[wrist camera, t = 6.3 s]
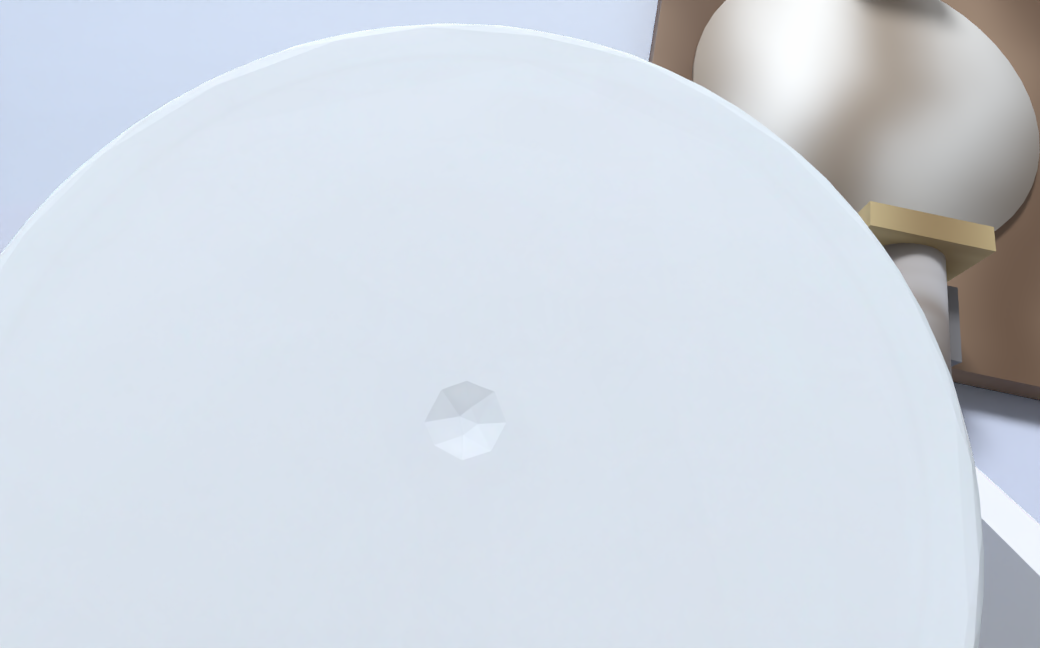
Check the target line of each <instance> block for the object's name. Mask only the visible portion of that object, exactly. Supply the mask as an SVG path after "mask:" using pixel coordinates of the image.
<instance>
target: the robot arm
mask: <svg viewBox="0 0 1040 648" xmlns="http://www.w3.org/2000/svg"><path fill="white" fill-rule="evenodd" d="M975 469H976V476H977V483H978V489H979V496H980V508H981V520H982V533H983V545H984V598H983V608H982V618H981V629H980V639H979V648H1040V524H1039V523H1038V522H1037V521H1036V520H1035V519H1033V518H1032V517H1031V516H1030V515H1029V514H1028V513H1027V512H1026V511H1025V510H1023V509H1022V508H1021V507H1020V506H1019V505H1018V504H1017V503H1016V502H1015V501H1013V500H1012V499H1011V498H1010V497H1009V496H1008V495H1007V494H1006V493H1005V492H1003V491H1002V490H1001V489H1000V488H999V487H998V486H997V485H996V484H995V483H993V482H992V481H991V480H990V479H989V478H988V477H987V476H986V475H985V474H983V473H982V472H981V471H980V470H979V469H978V468H977V467H976V466H975Z"/></svg>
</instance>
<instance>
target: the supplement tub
mask: <svg viewBox="0 0 1040 648" xmlns="http://www.w3.org/2000/svg"><path fill="white" fill-rule="evenodd" d="M983 598H984V545H983V533H982V520H981V508H980V496H979V489H978V483H977V476H976V469H975V462H974V458H973V453H972V449H971V445H970V441H969V437H968V433H967V428H966V425H965V421H964V418H963V414H962V411H961V407H960V404H959V400H958V397H957V393H956V390H955V386H954V383H953V379H952V377H951V375H950V372H949V370H948V367H947V365H946V363H945V360H944V358H943V355H942V353H941V351H940V348H939V346H938V343H937V341H936V339H935V337H934V334H933V332H932V330H931V328H930V326H929V323H928V321H927V319H926V317H925V314H924V312H923V310H922V309H921V307H920V305H919V304H918V302H917V300H916V298H915V297H914V295H913V293H912V291H911V290H910V288H909V286H908V284H907V283H906V281H905V279H904V277H903V276H902V274H901V272H900V271H899V269H898V268H897V266H896V265H895V263H894V262H893V260H892V259H891V258H890V256H889V255H888V253H887V252H886V250H885V249H884V247H883V246H882V244H881V243H880V242H879V241H878V239H877V238H876V237H875V235H874V234H873V233H872V231H871V230H870V229H869V227H868V226H867V225H866V223H865V222H864V221H863V220H862V218H861V217H860V216H859V214H858V213H857V212H856V211H855V210H854V209H853V208H852V207H851V205H850V204H849V203H848V202H847V201H846V200H845V199H844V198H843V196H842V195H841V194H840V193H839V192H838V191H837V190H836V189H835V188H834V186H833V185H832V184H831V183H830V182H829V181H828V180H827V179H826V178H825V177H824V176H823V175H822V174H821V173H820V172H819V171H818V170H817V169H815V168H814V167H813V166H812V165H811V164H810V163H809V162H808V161H807V160H806V159H805V158H804V157H802V156H801V155H800V154H799V153H798V152H797V151H795V150H794V149H793V148H792V147H790V146H789V145H788V144H787V143H785V142H784V141H783V140H782V139H780V138H779V137H778V136H777V135H775V134H774V133H773V132H771V131H770V130H769V129H768V128H766V127H765V126H764V125H762V124H761V123H760V122H758V121H757V120H755V119H754V118H753V117H751V116H750V115H748V114H747V113H746V112H744V111H743V110H741V109H740V108H738V107H737V106H735V105H733V104H732V103H730V102H728V101H727V100H725V99H723V98H721V97H720V96H718V95H716V94H715V93H713V92H711V91H710V90H708V89H706V88H705V87H703V86H701V85H698V84H696V83H694V82H692V81H690V80H688V79H686V78H684V77H682V76H680V75H678V74H676V73H674V72H672V71H669V70H667V69H665V68H663V67H660V66H658V65H656V64H653V63H651V62H649V61H646V60H644V59H641V58H639V57H637V56H634V55H632V54H629V53H626V52H622V51H619V50H616V49H613V48H609V47H606V46H603V45H599V44H596V43H592V42H589V41H585V40H581V39H576V38H571V37H567V36H562V35H557V34H552V33H547V32H542V31H537V30H530V29H523V28H516V27H509V26H501V25H477V24H452V23H439V24H425V25H412V26H398V27H385V28H378V29H371V30H365V31H358V32H352V33H348V34H343V35H338V36H333V37H329V38H325V39H321V40H317V41H313V42H309V43H305V44H301V45H297V46H294V47H291V48H288V49H285V50H283V51H280V52H277V53H274V54H272V55H269V56H266V57H263V58H261V59H258V60H255V61H253V62H250V63H248V64H245V65H243V66H240V67H238V68H235V69H233V70H231V71H229V72H226V73H224V74H222V75H220V76H217V77H215V78H213V79H211V80H209V81H207V82H205V83H203V84H201V85H199V86H198V87H196V88H194V89H192V90H190V91H188V92H187V93H185V94H183V95H181V96H179V97H177V98H176V99H174V100H172V101H170V102H168V103H166V104H165V105H163V106H162V107H160V108H159V109H157V110H155V111H154V112H152V113H151V114H149V115H148V116H146V117H145V118H143V119H142V120H140V121H138V122H137V123H135V124H134V125H132V126H131V127H129V128H128V129H127V130H126V131H124V132H123V133H122V134H120V135H119V136H118V137H117V138H115V139H114V140H113V141H111V142H110V143H109V144H108V145H106V146H105V147H104V148H102V149H101V150H100V151H99V152H97V153H96V154H95V155H94V156H92V157H91V158H90V159H89V160H88V161H86V162H85V163H84V164H83V165H82V166H80V167H79V168H78V169H77V170H76V171H75V172H74V173H73V174H72V175H70V176H69V177H68V178H67V179H66V180H65V181H64V182H63V183H62V184H61V185H60V186H59V187H58V188H57V189H56V190H55V191H54V192H53V193H52V194H51V195H50V196H49V197H48V198H47V199H46V200H45V201H44V203H43V204H42V205H41V206H40V207H39V208H38V209H37V210H36V211H35V212H34V213H33V215H32V216H31V217H30V218H29V219H28V220H27V221H26V222H25V224H24V225H23V226H22V227H21V229H20V230H19V231H18V232H17V234H16V235H15V236H14V238H13V239H12V240H11V241H10V243H9V244H8V245H7V247H6V248H5V249H4V250H3V252H2V253H1V254H0V648H979V639H980V629H981V618H982V608H983Z"/></svg>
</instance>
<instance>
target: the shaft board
mask: <svg viewBox="0 0 1040 648" xmlns="http://www.w3.org/2000/svg"><path fill="white" fill-rule="evenodd" d="M649 62H651V63H653V64H656V65H658V66H660V67H663V68H665V69H667V70H669V71H672V72H674V73H676V74H678V75H680V76H682V77H684V78H686V79H688V80H690V81H692V82H694V83H696V84H698V85H701V86H703V87H705V88H706V89H708V90H710V91H711V92H713V93H715V94H716V95H718V96H720V97H721V98H723V99H725V100H727V101H728V102H730V103H732V104H733V105H735V106H737V107H738V108H740V109H741V110H743V111H744V112H746V113H747V114H748V115H750V116H751V117H753V118H754V119H755V120H757V121H758V122H760V123H761V124H762V125H764V126H765V127H766V128H768V129H769V130H770V131H771V132H773V133H774V134H775V135H777V136H778V137H779V138H780V139H782V140H783V141H784V142H785V143H787V144H788V145H789V146H790V147H792V148H793V149H794V150H795V151H797V152H798V153H799V154H800V155H801V156H802V157H804V158H805V159H806V160H807V161H808V162H809V163H810V164H811V165H812V166H813V167H814V168H815V169H817V170H818V171H819V172H820V173H821V174H822V175H823V176H824V177H825V178H826V179H827V180H828V181H829V182H830V183H831V184H832V185H833V186H834V188H835V189H836V190H837V191H838V192H839V193H840V194H841V195H842V196H843V198H844V199H845V200H846V201H847V202H848V203H849V204H850V205H851V207H852V208H853V209H854V210H855V211H856V212H857V213H858V214H859V216H860V217H861V218H862V220H863V221H864V222H865V223H866V225H867V226H868V227H869V229H870V230H871V231H872V233H873V234H874V235H875V237H876V238H877V239H878V241H879V242H880V243H881V244H882V246H883V247H884V249H885V250H886V252H887V253H888V255H889V256H890V258H891V259H892V260H893V262H894V263H895V265H896V266H897V268H898V269H899V271H900V272H901V274H902V276H903V277H904V279H905V281H906V283H907V284H908V286H909V288H910V290H911V291H912V293H913V295H914V297H915V298H916V300H917V302H918V304H919V305H920V307H921V309H922V310H923V312H924V314H925V317H926V319H927V321H928V323H929V326H930V328H931V330H932V332H933V334H934V337H935V339H936V341H937V343H938V346H939V348H940V351H941V353H942V355H943V358H944V360H945V363H946V365H947V367H948V370H949V372H950V375H951V377H952V379H953V382H956V383H961V384H966V385H970V386H975V387H980V388H985V389H989V390H994V391H999V392H1004V393H1008V394H1013V395H1018V396H1023V397H1027V398H1032V399H1037V400H1040V0H658V6H657V12H656V18H655V25H654V31H653V38H652V44H651V51H650V57H649Z"/></svg>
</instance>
